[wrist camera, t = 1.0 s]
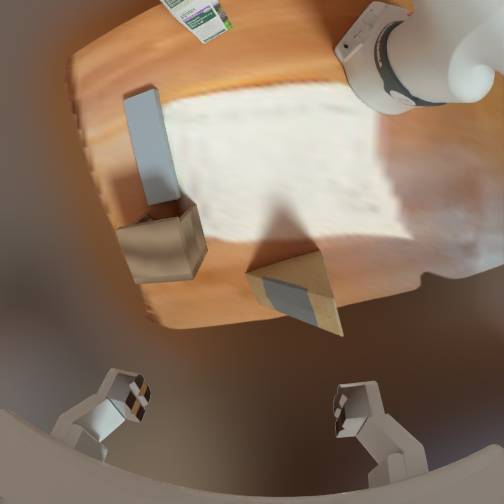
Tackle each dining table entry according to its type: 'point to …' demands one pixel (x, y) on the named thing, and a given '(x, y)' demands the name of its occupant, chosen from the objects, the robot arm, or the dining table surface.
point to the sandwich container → (298, 290)
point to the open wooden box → (164, 247)
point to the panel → (152, 147)
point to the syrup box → (200, 17)
